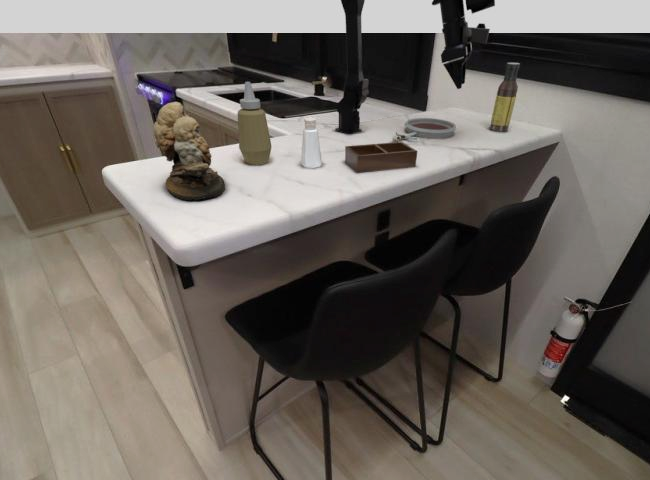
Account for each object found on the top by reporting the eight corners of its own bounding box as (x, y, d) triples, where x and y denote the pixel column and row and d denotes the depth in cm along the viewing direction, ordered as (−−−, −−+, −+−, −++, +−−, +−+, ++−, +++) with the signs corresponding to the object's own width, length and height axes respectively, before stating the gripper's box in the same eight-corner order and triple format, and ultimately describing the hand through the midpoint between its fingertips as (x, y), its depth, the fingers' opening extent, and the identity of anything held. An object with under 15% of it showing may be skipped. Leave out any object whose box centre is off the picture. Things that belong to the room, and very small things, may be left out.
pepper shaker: (313, 169, 94) (312, 122, 87) (296, 165, 96) (294, 118, 89) (326, 164, 98) (325, 118, 91) (309, 159, 100) (307, 114, 93)
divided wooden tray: (345, 162, 100) (345, 146, 97) (400, 156, 104) (402, 141, 102) (357, 172, 93) (357, 156, 91) (415, 166, 98) (417, 150, 96)
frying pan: (372, 128, 118) (424, 114, 134) (372, 138, 120) (423, 123, 136) (416, 140, 109) (466, 123, 125) (415, 150, 111) (464, 132, 127)
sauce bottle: (501, 127, 134) (518, 61, 122) (511, 132, 130) (529, 64, 117) (485, 127, 133) (500, 61, 121) (494, 132, 128) (511, 64, 116)
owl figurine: (237, 196, 80) (223, 107, 69) (180, 208, 74) (154, 114, 64) (210, 170, 91) (194, 91, 81) (159, 179, 86) (134, 95, 75)
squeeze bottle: (279, 159, 99) (272, 81, 88) (261, 168, 93) (251, 86, 82) (254, 154, 102) (244, 78, 91) (234, 163, 96) (221, 82, 85)
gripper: (484, 8, 88) (489, 82, 96) (487, 9, 102) (492, 73, 110) (436, 25, 93) (445, 94, 101) (446, 23, 107) (453, 84, 115)
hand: (461, 86), depth 107 cm, fingers open, 9 cm apart
